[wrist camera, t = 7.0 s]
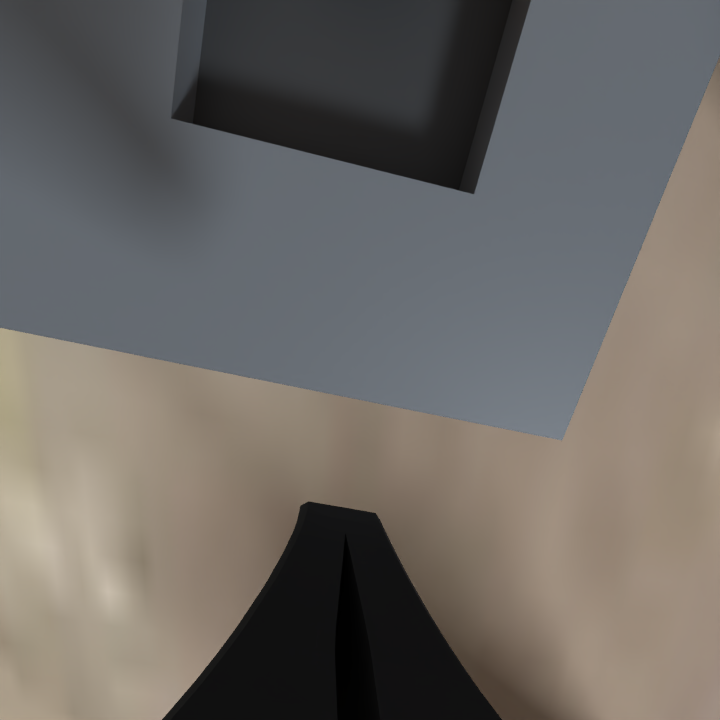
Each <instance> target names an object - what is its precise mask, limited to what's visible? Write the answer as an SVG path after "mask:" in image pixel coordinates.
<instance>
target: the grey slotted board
mask: <svg viewBox="0 0 720 720" xmlns="http://www.w3.org/2000/svg"><path fill="white" fill-rule="evenodd" d="M719 56H720V0H0V328H5V329H10V330H15V331H20V332H25V333H30V334H35V335H40V336H45V337H50V338H55V339H60V340H65V341H70V342H75V343H80V344H85V345H90V346H95V347H100V348H105V349H110V350H115V351H120V352H125V353H129V354H134V355H139V356H144V357H149V358H154V359H159V360H164V361H169V362H174V363H179V364H184V365H189V366H194V367H199V368H204V369H209V370H214V371H219V372H224V373H229V374H234V375H239V376H244V377H249V378H254V379H259V380H264V381H269V382H274V383H279V384H284V385H289V386H294V387H299V388H304V389H309V390H314V391H319V392H324V393H329V394H334V395H339V396H344V397H349V398H354V399H359V400H364V401H369V402H373V403H378V404H383V405H388V406H393V407H398V408H403V409H408V410H413V411H418V412H423V413H428V414H433V415H438V416H443V417H448V418H453V419H458V420H463V421H468V422H473V423H478V424H483V425H488V426H493V427H498V428H503V429H508V430H513V431H518V432H523V433H528V434H533V435H538V436H543V437H548V438H553V439H558V440H562V439H563V437H564V434H565V432H566V430H567V427H568V425H569V422H570V420H571V417H572V415H573V412H574V410H575V408H576V405H577V403H578V400H579V398H580V395H581V393H582V391H583V388H584V386H585V383H586V381H587V378H588V376H589V373H590V371H591V369H592V366H593V364H594V361H595V359H596V356H597V354H598V351H599V349H600V347H601V344H602V342H603V339H604V337H605V334H606V332H607V330H608V327H609V325H610V322H611V320H612V317H613V315H614V312H615V310H616V308H617V305H618V303H619V300H620V298H621V295H622V293H623V290H624V288H625V286H626V283H627V281H628V278H629V276H630V273H631V271H632V269H633V266H634V264H635V261H636V259H637V256H638V254H639V251H640V249H641V247H642V244H643V242H644V239H645V237H646V234H647V232H648V229H649V227H650V225H651V222H652V220H653V217H654V215H655V212H656V210H657V208H658V205H659V203H660V200H661V198H662V195H663V193H664V190H665V188H666V186H667V183H668V181H669V178H670V176H671V173H672V171H673V168H674V166H675V164H676V161H677V159H678V156H679V154H680V151H681V149H682V147H683V144H684V142H685V139H686V137H687V134H688V132H689V129H690V127H691V125H692V122H693V120H694V117H695V115H696V112H697V110H698V107H699V105H700V103H701V100H702V98H703V95H704V93H705V90H706V88H707V86H708V83H709V81H710V78H711V76H712V73H713V71H714V68H715V66H716V64H717V61H718V59H719Z"/></svg>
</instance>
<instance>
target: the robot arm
mask: <svg viewBox="0 0 720 720" xmlns="http://www.w3.org/2000/svg"><path fill="white" fill-rule="evenodd" d="M162 720H502V719H501V718H500V717H499V715H498V714H497V713H496V711H495V710H494V709H493V707H492V706H491V705H490V703H489V702H488V701H487V700H486V698H485V697H484V696H483V694H482V693H481V692H480V690H479V689H478V687H477V686H476V685H475V683H474V682H473V680H472V679H471V677H470V676H469V675H468V673H467V672H466V670H465V669H464V667H463V666H462V664H461V663H460V661H459V660H458V658H457V657H456V655H455V654H454V652H453V651H452V649H451V647H450V646H449V644H448V643H447V641H446V640H445V638H444V637H443V635H442V634H441V632H440V630H439V629H438V627H437V625H436V624H435V622H434V621H433V619H432V617H431V616H430V614H429V612H428V610H427V609H426V607H425V605H424V603H423V602H422V600H421V598H420V597H419V595H418V593H417V591H416V590H415V588H414V586H413V584H412V583H411V581H410V579H409V577H408V575H407V573H406V571H405V570H404V568H403V566H402V564H401V562H400V560H399V558H398V556H397V554H396V552H395V550H394V548H393V546H392V544H391V542H390V540H389V538H388V536H387V534H386V532H385V530H384V528H383V526H382V523H381V521H380V519H379V518H378V516H377V515H376V513H372V512H366V511H360V510H354V509H349V508H343V507H337V506H331V505H325V504H320V503H314V502H307V503H305V504H303V505H301V506H300V511H299V515H298V520H297V523H296V526H295V529H294V531H293V533H292V536H291V538H290V540H289V542H288V544H287V546H286V548H285V550H284V552H283V554H282V556H281V558H280V559H279V561H278V563H277V565H276V567H275V568H274V570H273V572H272V574H271V575H270V577H269V579H268V581H267V582H266V584H265V586H264V587H263V589H262V590H261V592H260V593H259V595H258V596H257V598H256V599H255V601H254V602H253V604H252V605H251V607H250V608H249V610H248V611H247V613H246V614H245V616H244V617H243V619H242V620H241V622H240V623H239V625H238V626H237V628H236V629H235V630H234V632H233V633H232V634H231V636H230V637H229V638H228V640H227V641H226V643H225V644H224V645H223V647H222V648H221V649H220V650H219V652H218V653H217V654H216V656H215V657H214V658H213V660H212V661H211V662H210V663H209V665H208V666H207V667H206V668H205V670H204V671H203V672H202V673H201V675H200V676H199V677H198V678H197V680H196V681H195V682H194V683H193V684H192V686H191V687H190V688H189V689H188V690H187V691H186V693H185V694H184V695H183V696H182V697H181V698H180V700H179V701H178V702H177V703H176V704H175V705H174V707H173V708H172V709H171V710H170V711H169V712H168V713H167V715H166V716H165V717H164V718H163V719H162Z"/></svg>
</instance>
